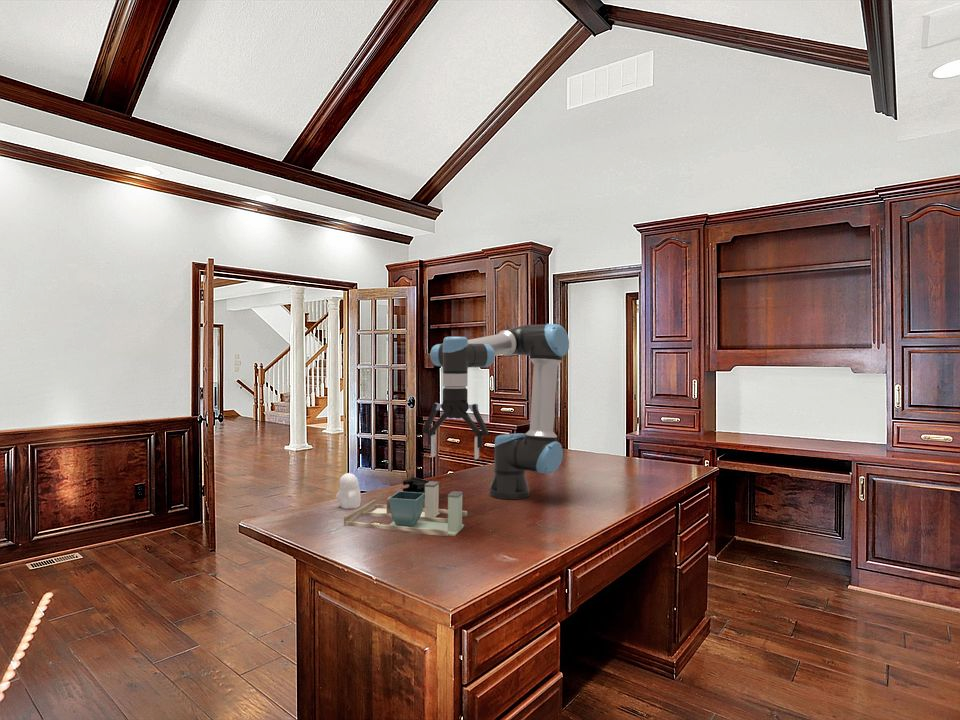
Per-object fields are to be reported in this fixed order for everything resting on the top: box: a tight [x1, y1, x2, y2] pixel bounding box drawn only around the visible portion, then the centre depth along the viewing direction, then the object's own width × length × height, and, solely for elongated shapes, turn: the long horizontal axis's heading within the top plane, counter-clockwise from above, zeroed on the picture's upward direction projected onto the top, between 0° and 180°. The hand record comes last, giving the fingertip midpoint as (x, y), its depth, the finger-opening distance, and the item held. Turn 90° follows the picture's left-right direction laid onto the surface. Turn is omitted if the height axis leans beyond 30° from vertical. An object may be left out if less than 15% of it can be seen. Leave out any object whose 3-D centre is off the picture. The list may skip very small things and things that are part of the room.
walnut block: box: [386, 495, 392, 514], centre depth 184 cm, size 5×5×5 cm
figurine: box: [336, 472, 362, 510], centre depth 191 cm, size 7×8×12 cm
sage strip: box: [388, 490, 465, 537], centre depth 170 cm, size 22×10×11 cm, turn 76°
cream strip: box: [371, 480, 441, 518], centre depth 183 cm, size 22×8×11 cm, turn 76°
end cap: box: [402, 476, 430, 499], centre depth 207 cm, size 10×7×7 cm
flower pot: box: [389, 490, 425, 527], centre depth 171 cm, size 9×9×9 cm
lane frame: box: [343, 499, 468, 537], centre depth 176 cm, size 33×22×3 cm
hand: (454, 457), depth 170 cm, fingers open, 13 cm apart
